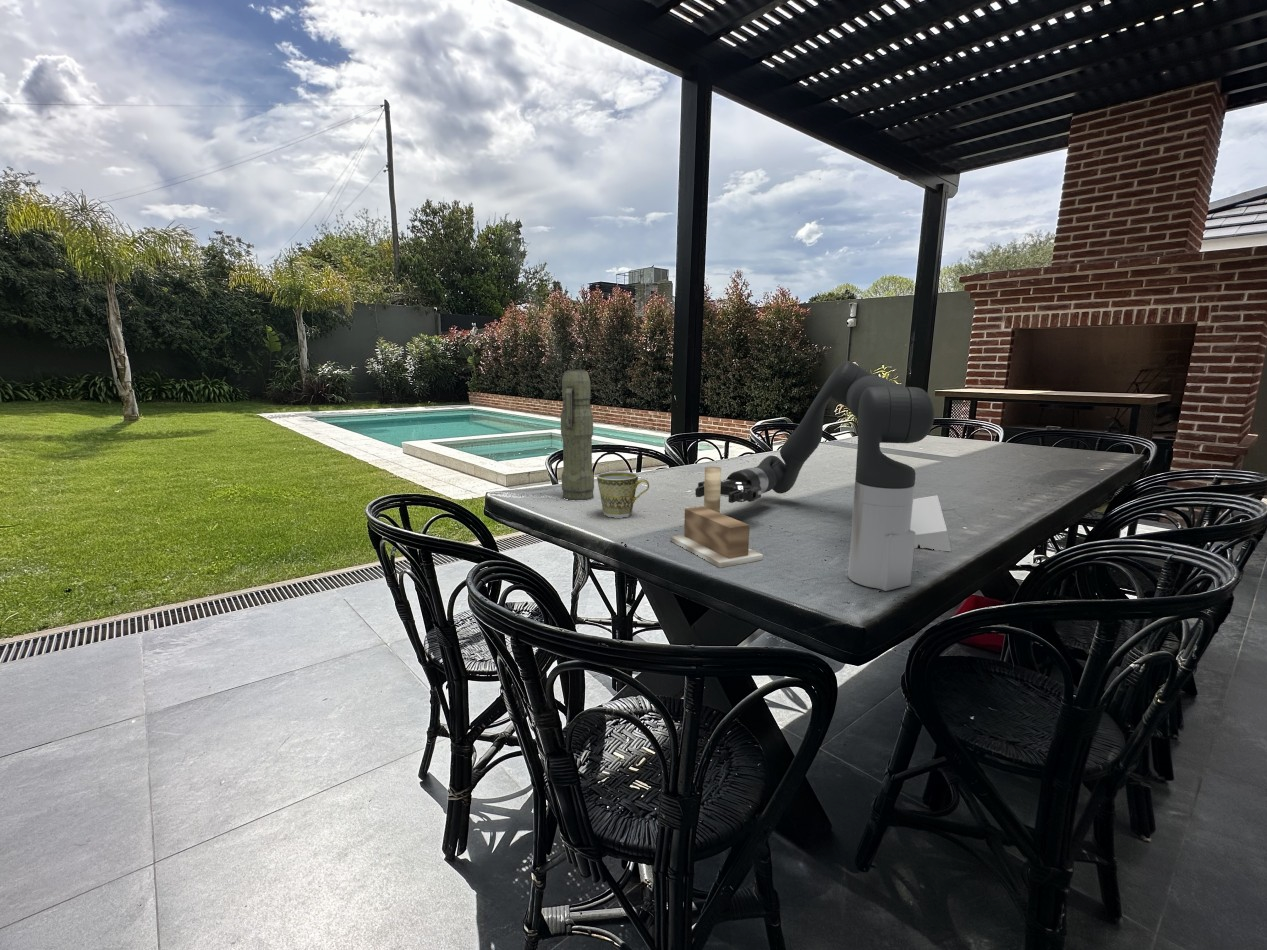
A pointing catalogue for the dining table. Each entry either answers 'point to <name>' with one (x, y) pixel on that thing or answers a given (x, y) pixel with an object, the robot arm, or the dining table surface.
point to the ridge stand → (716, 538)
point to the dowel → (712, 488)
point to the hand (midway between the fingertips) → (713, 495)
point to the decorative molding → (929, 524)
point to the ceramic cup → (618, 492)
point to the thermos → (577, 436)
